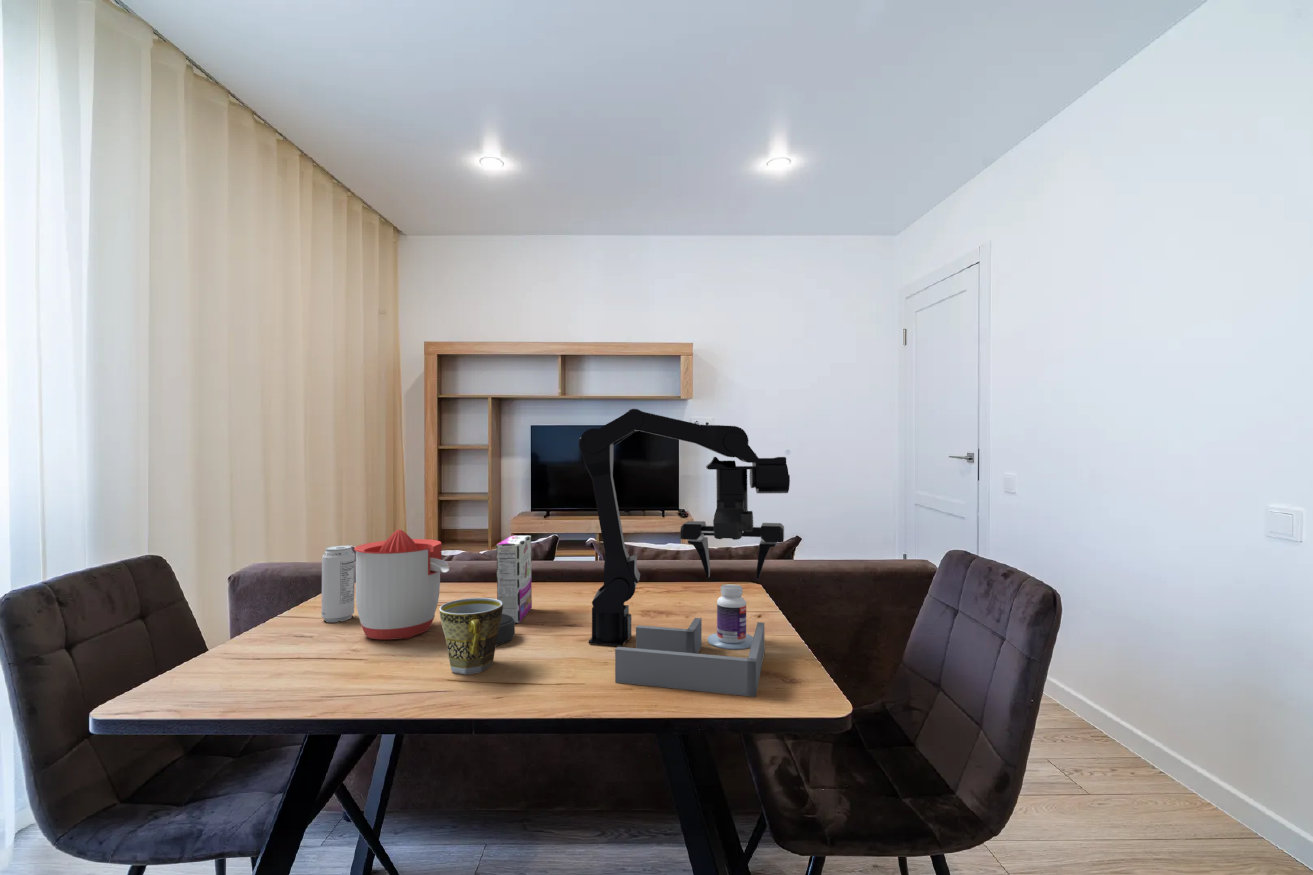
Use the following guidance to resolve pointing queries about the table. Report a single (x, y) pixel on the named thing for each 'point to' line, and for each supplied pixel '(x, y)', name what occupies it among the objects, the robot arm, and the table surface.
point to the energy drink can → (338, 583)
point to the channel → (688, 662)
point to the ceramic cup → (471, 633)
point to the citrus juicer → (398, 585)
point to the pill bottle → (731, 615)
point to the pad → (734, 646)
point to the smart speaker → (506, 629)
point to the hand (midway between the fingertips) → (732, 578)
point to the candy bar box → (514, 576)
